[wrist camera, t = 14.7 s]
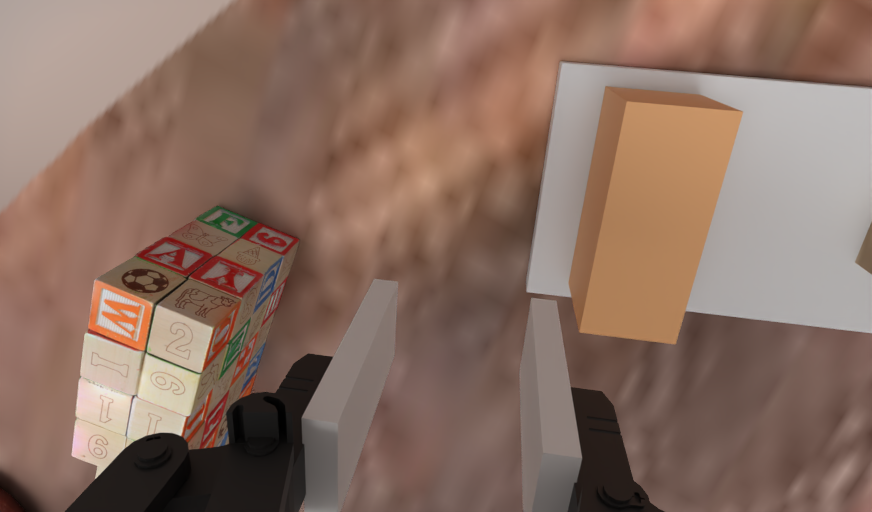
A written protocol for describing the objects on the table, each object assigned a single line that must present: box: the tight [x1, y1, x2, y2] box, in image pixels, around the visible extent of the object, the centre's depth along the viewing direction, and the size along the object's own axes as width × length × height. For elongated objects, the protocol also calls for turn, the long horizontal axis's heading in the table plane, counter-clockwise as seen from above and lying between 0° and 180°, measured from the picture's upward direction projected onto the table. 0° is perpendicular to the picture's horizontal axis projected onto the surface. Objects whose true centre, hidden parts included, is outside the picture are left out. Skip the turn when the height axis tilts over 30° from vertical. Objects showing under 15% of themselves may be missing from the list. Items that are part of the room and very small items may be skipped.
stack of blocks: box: [72, 206, 299, 479], centre depth 36 cm, size 21×6×12 cm, turn 158°
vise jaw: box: [568, 86, 743, 344], centre depth 29 cm, size 12×5×6 cm, turn 176°
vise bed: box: [526, 61, 872, 333], centre depth 29 cm, size 14×30×8 cm, turn 86°
